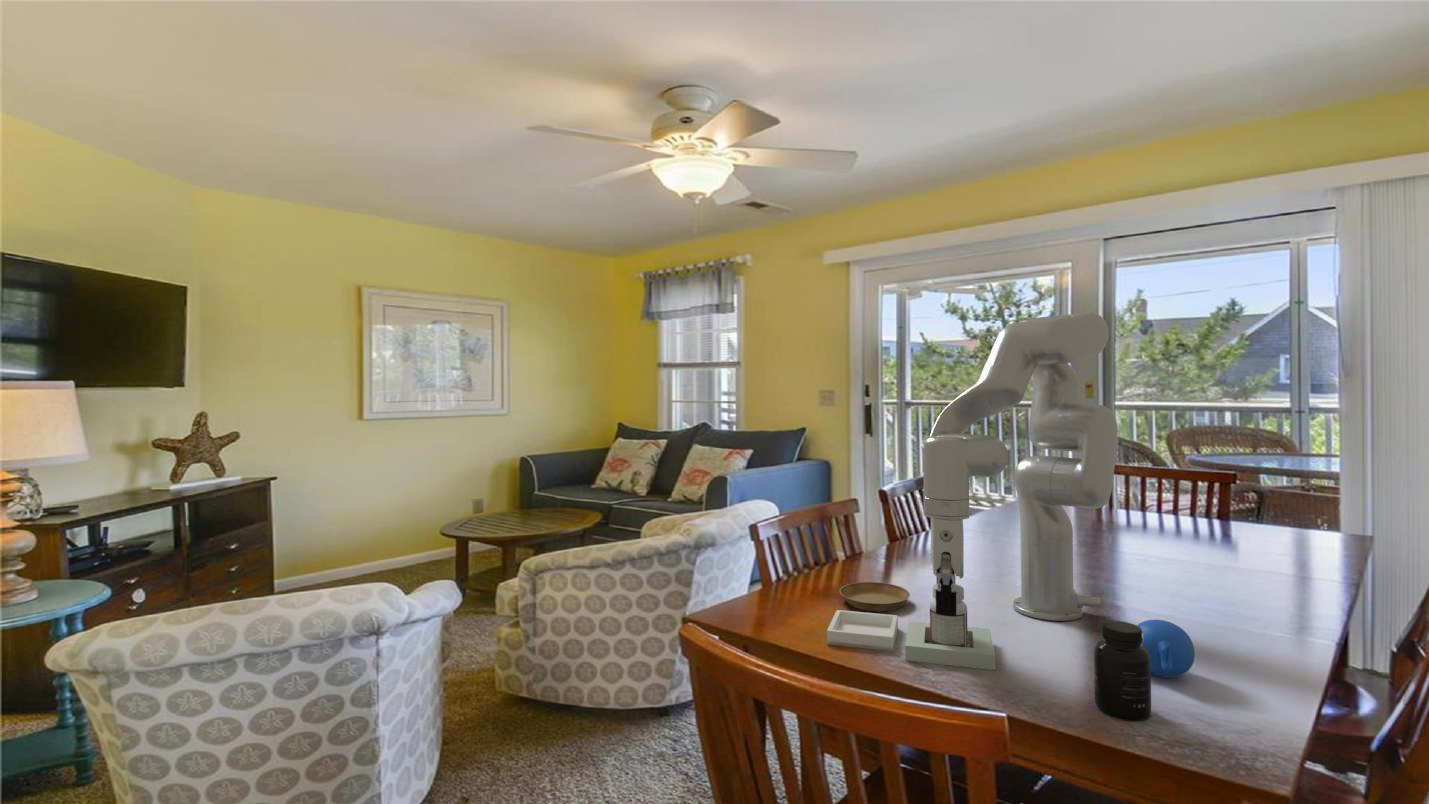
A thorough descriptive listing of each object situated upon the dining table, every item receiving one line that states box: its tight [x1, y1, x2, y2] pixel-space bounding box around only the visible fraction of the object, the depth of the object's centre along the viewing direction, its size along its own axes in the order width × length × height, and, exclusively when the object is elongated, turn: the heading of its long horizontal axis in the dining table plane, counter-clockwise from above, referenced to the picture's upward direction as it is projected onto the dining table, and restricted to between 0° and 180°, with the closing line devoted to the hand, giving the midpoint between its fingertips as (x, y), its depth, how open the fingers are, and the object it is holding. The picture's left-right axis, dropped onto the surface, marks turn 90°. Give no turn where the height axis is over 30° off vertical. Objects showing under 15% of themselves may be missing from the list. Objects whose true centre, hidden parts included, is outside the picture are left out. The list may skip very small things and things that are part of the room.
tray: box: [826, 609, 899, 652], centre depth 122 cm, size 12×12×2 cm
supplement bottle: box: [1093, 620, 1152, 722], centre depth 92 cm, size 7×7×12 cm
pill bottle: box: [929, 583, 969, 648], centre depth 114 cm, size 6×6×11 cm
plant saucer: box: [839, 581, 911, 612], centre depth 141 cm, size 15×15×3 cm
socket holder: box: [904, 621, 996, 671], centre depth 114 cm, size 14×12×2 cm
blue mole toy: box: [1137, 619, 1196, 678], centre depth 104 cm, size 12×12×8 cm
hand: (945, 606), depth 114 cm, fingers open, 9 cm apart
